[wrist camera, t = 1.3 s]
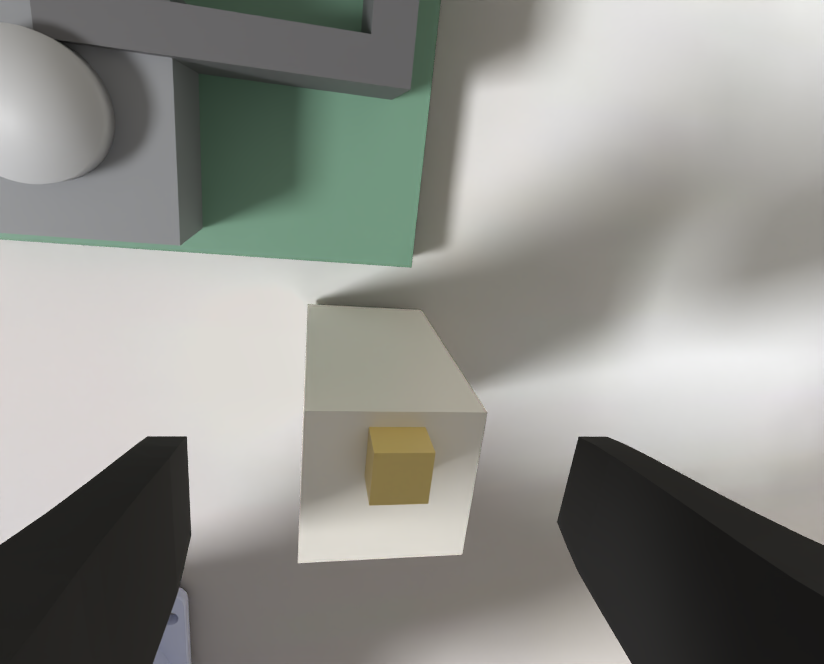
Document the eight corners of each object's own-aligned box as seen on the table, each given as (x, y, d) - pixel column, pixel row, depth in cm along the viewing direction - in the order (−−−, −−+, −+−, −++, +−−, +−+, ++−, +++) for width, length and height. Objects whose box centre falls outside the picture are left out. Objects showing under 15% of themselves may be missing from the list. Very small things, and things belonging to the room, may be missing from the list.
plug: (409, 408, 16) (473, 586, 9) (303, 407, 15) (296, 599, 9) (421, 310, 15) (502, 436, 8) (307, 304, 14) (303, 436, 8)
